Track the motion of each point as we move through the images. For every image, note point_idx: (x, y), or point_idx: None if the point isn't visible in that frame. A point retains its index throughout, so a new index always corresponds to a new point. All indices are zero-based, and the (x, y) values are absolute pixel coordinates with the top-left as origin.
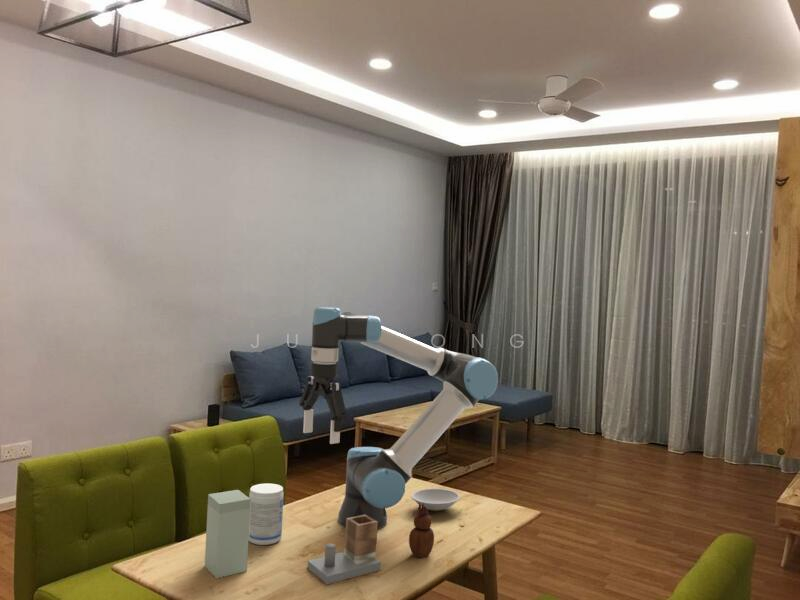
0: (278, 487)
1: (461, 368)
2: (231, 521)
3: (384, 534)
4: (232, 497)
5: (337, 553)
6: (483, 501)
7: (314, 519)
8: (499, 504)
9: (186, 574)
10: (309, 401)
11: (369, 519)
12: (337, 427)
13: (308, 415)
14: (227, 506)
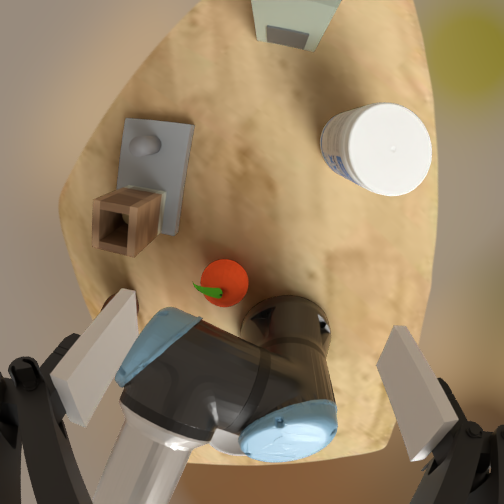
0: (376, 178)
1: None
2: None
3: (218, 321)
4: None
5: (180, 187)
6: (222, 459)
7: (356, 280)
8: (204, 460)
9: None
10: (433, 498)
11: (108, 243)
12: (58, 354)
13: (419, 412)
14: None
